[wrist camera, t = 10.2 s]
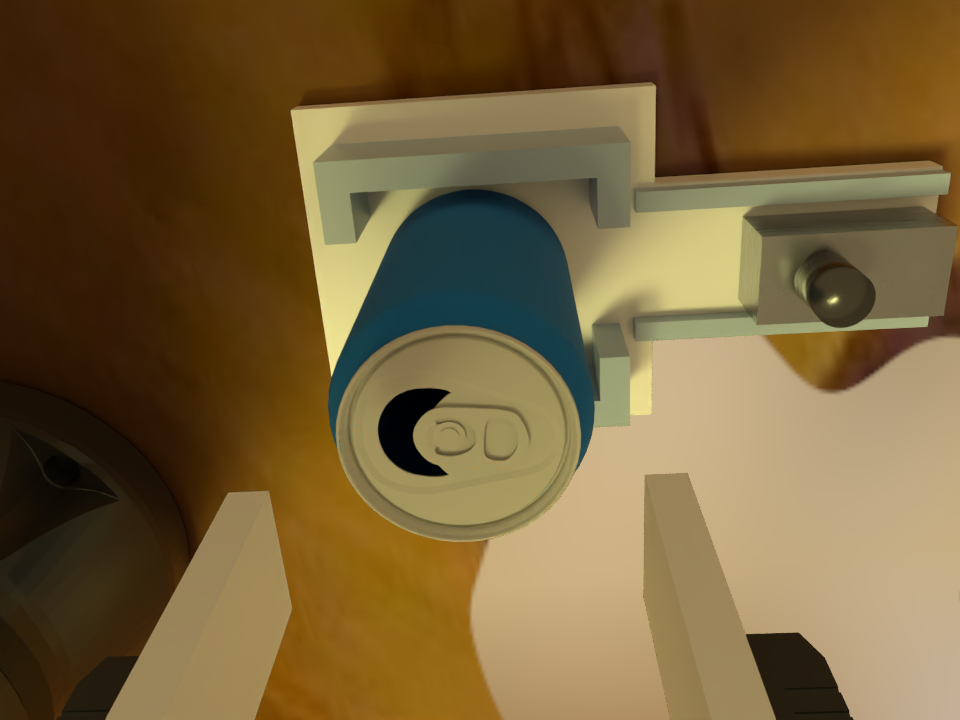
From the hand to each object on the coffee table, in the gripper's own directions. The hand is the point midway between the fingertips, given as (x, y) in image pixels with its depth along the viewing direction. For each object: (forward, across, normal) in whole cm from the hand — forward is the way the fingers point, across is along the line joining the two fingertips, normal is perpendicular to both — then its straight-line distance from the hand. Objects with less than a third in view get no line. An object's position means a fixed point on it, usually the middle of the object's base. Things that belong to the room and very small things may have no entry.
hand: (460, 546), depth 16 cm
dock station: (+17, +5, 0) cm, 18 cm away
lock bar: (+16, +12, 0) cm, 20 cm away
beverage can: (+16, 0, 0) cm, 16 cm away
